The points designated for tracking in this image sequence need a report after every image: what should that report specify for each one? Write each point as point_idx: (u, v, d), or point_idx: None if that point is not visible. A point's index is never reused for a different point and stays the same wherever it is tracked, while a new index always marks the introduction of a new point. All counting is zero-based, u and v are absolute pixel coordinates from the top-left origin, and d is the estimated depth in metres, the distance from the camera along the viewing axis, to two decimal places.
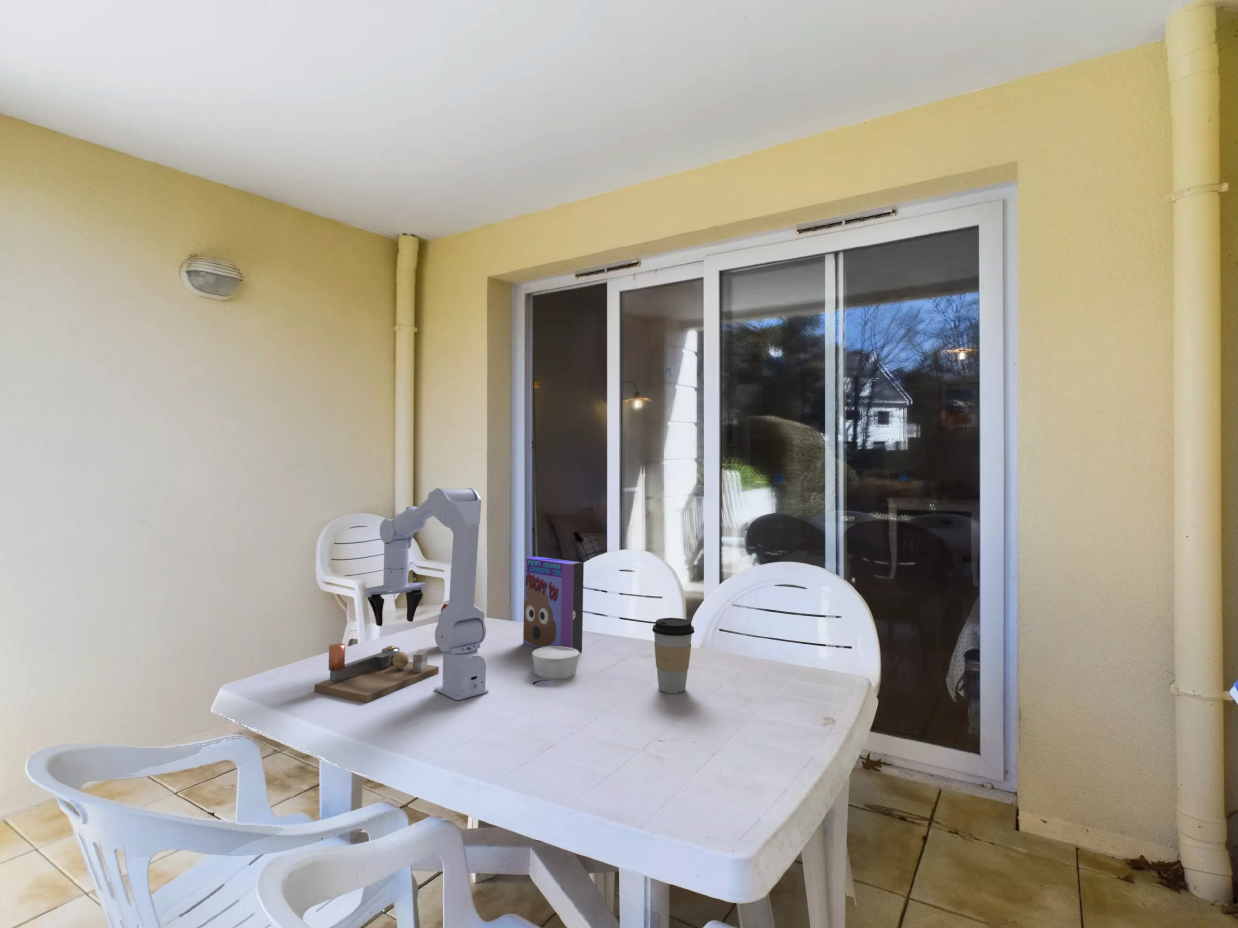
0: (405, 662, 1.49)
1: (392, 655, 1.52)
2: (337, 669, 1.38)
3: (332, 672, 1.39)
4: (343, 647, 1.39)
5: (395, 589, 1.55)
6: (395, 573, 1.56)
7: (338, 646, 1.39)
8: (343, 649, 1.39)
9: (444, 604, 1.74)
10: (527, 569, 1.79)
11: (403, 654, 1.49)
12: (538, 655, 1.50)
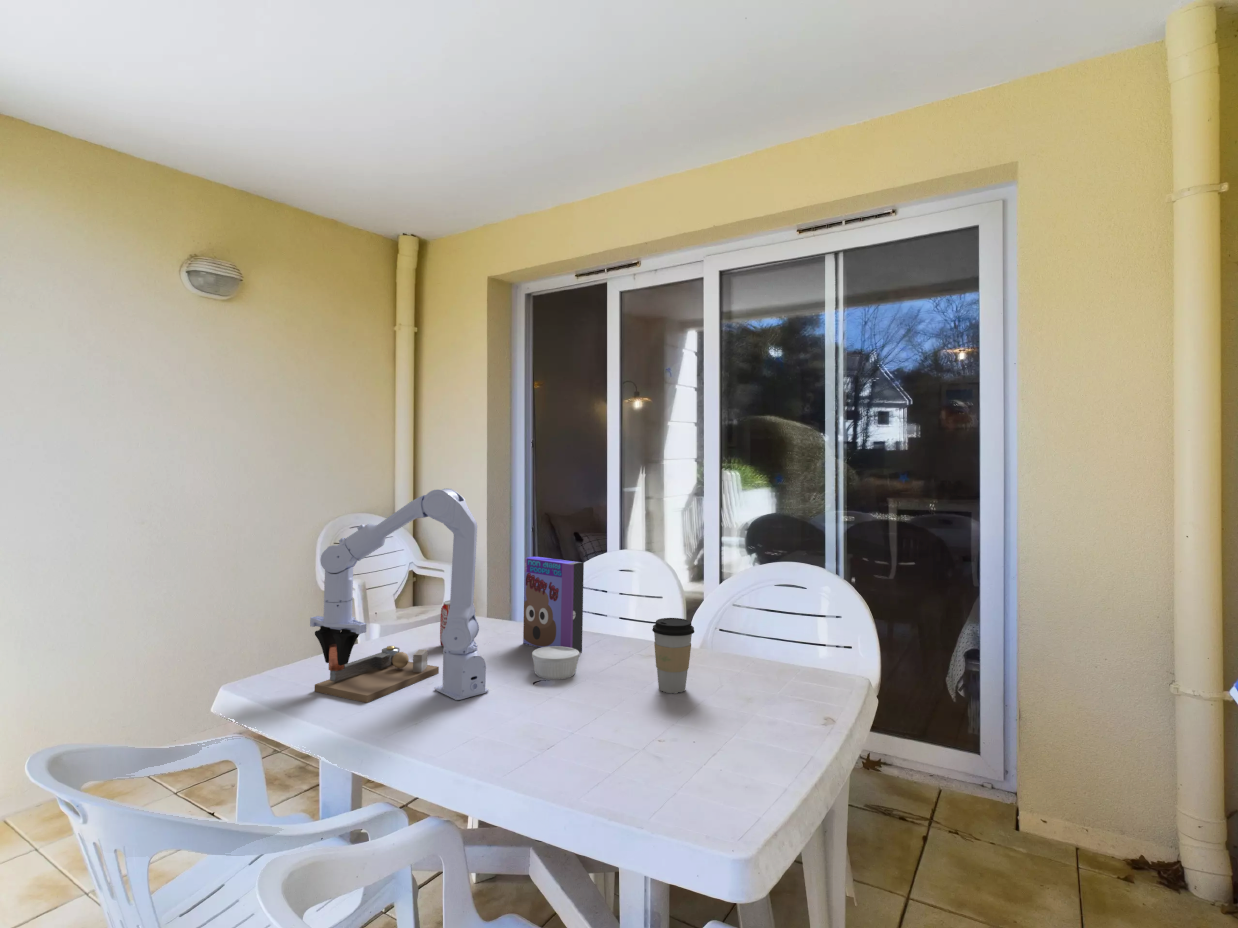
0: (405, 662, 1.49)
1: (392, 655, 1.52)
2: (337, 669, 1.38)
3: (332, 672, 1.39)
4: None
5: (323, 624, 1.37)
6: (324, 606, 1.38)
7: None
8: None
9: (444, 604, 1.74)
10: (527, 569, 1.79)
11: (403, 654, 1.49)
12: (538, 655, 1.50)
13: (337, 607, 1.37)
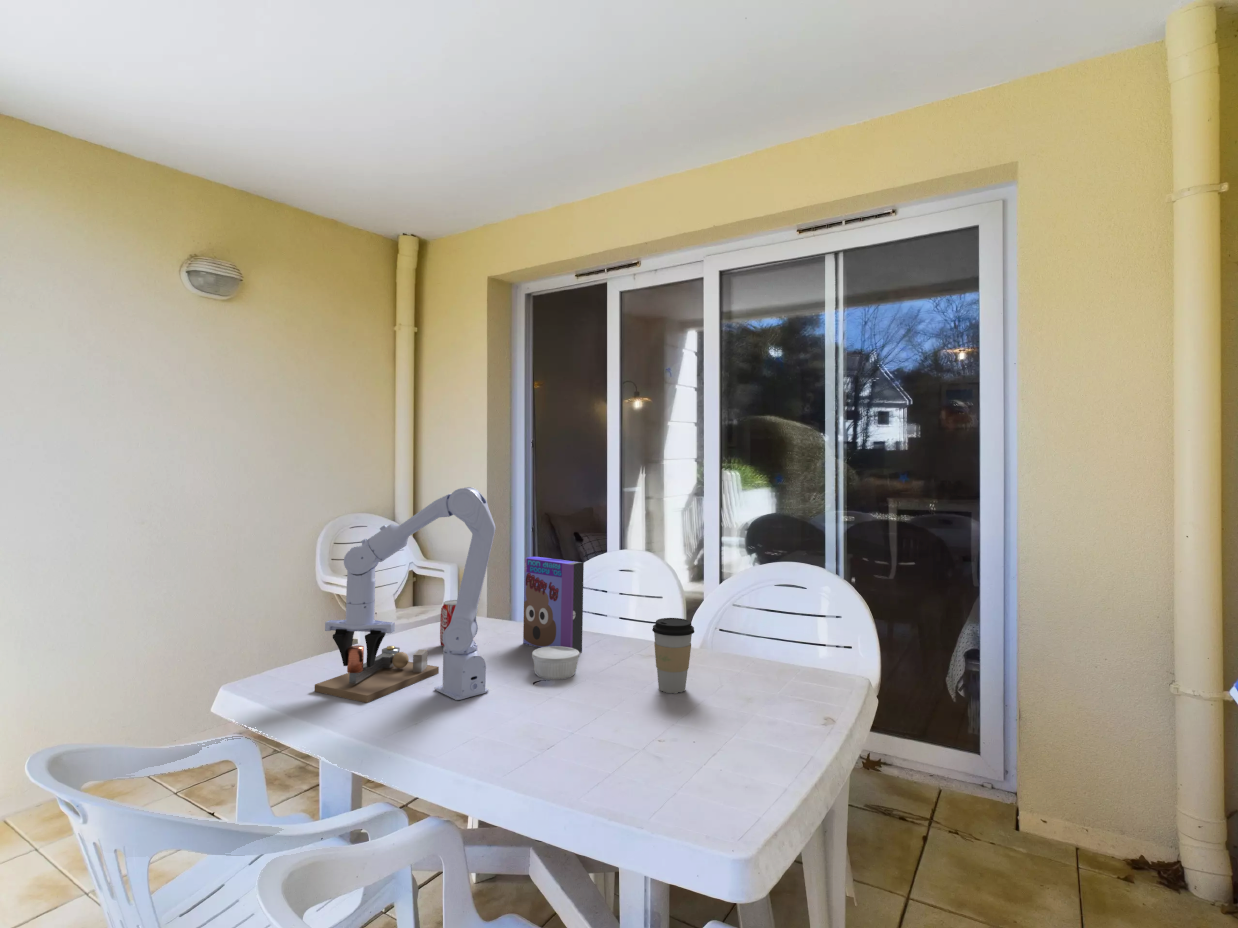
0: (405, 662, 1.49)
1: None
2: (358, 671, 1.37)
3: (352, 674, 1.37)
4: (363, 648, 1.38)
5: (348, 627, 1.36)
6: (349, 608, 1.36)
7: (358, 648, 1.38)
8: (363, 651, 1.38)
9: (444, 604, 1.74)
10: (527, 569, 1.79)
11: (403, 654, 1.49)
12: (538, 655, 1.50)
13: (365, 608, 1.36)
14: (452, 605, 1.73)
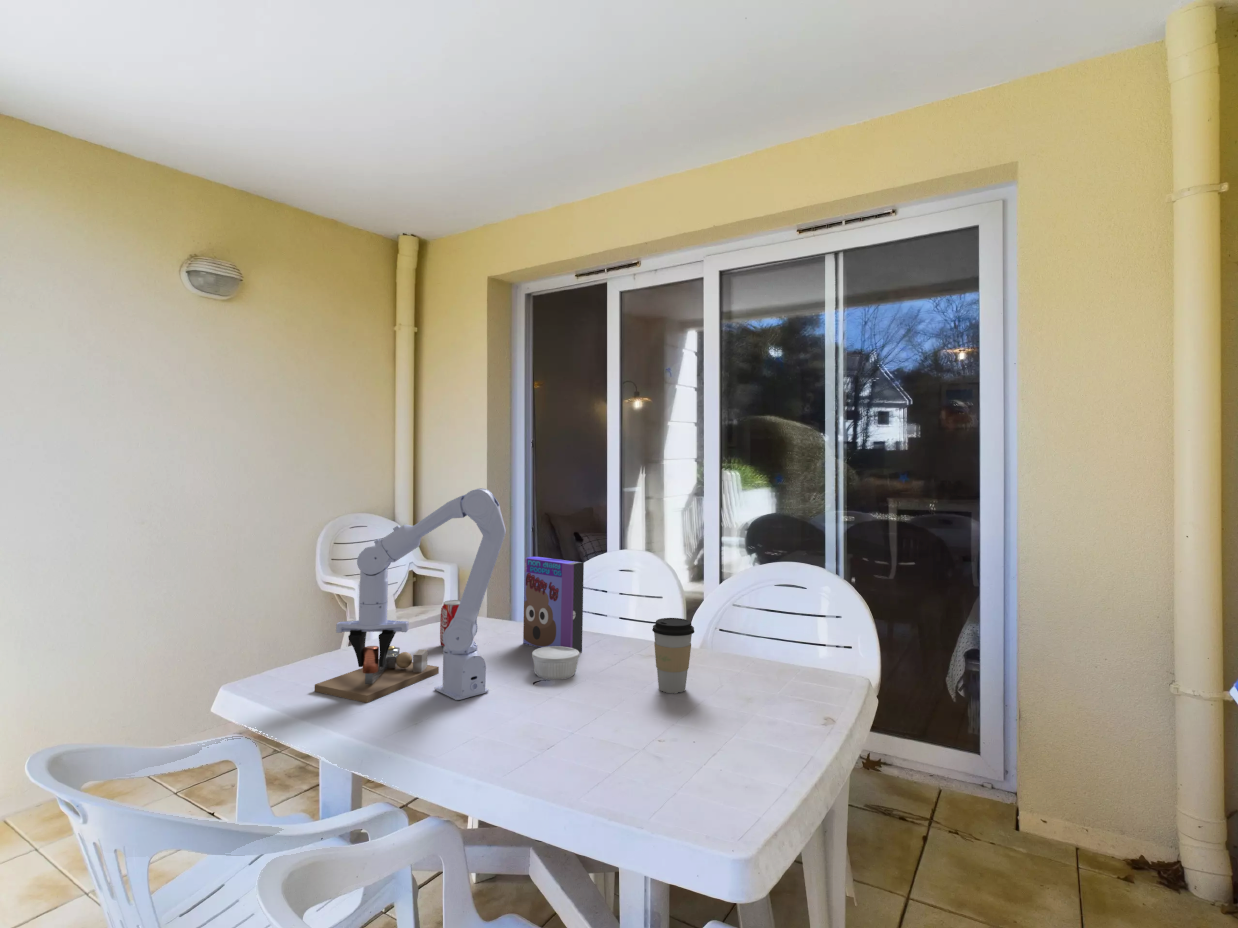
0: (409, 662, 1.49)
1: None
2: (375, 671, 1.37)
3: (368, 675, 1.37)
4: (378, 648, 1.39)
5: (363, 627, 1.35)
6: (364, 609, 1.36)
7: (374, 648, 1.38)
8: (378, 651, 1.38)
9: (444, 604, 1.74)
10: (527, 569, 1.79)
11: (407, 654, 1.49)
12: (538, 655, 1.50)
13: (380, 608, 1.36)
14: (452, 605, 1.73)
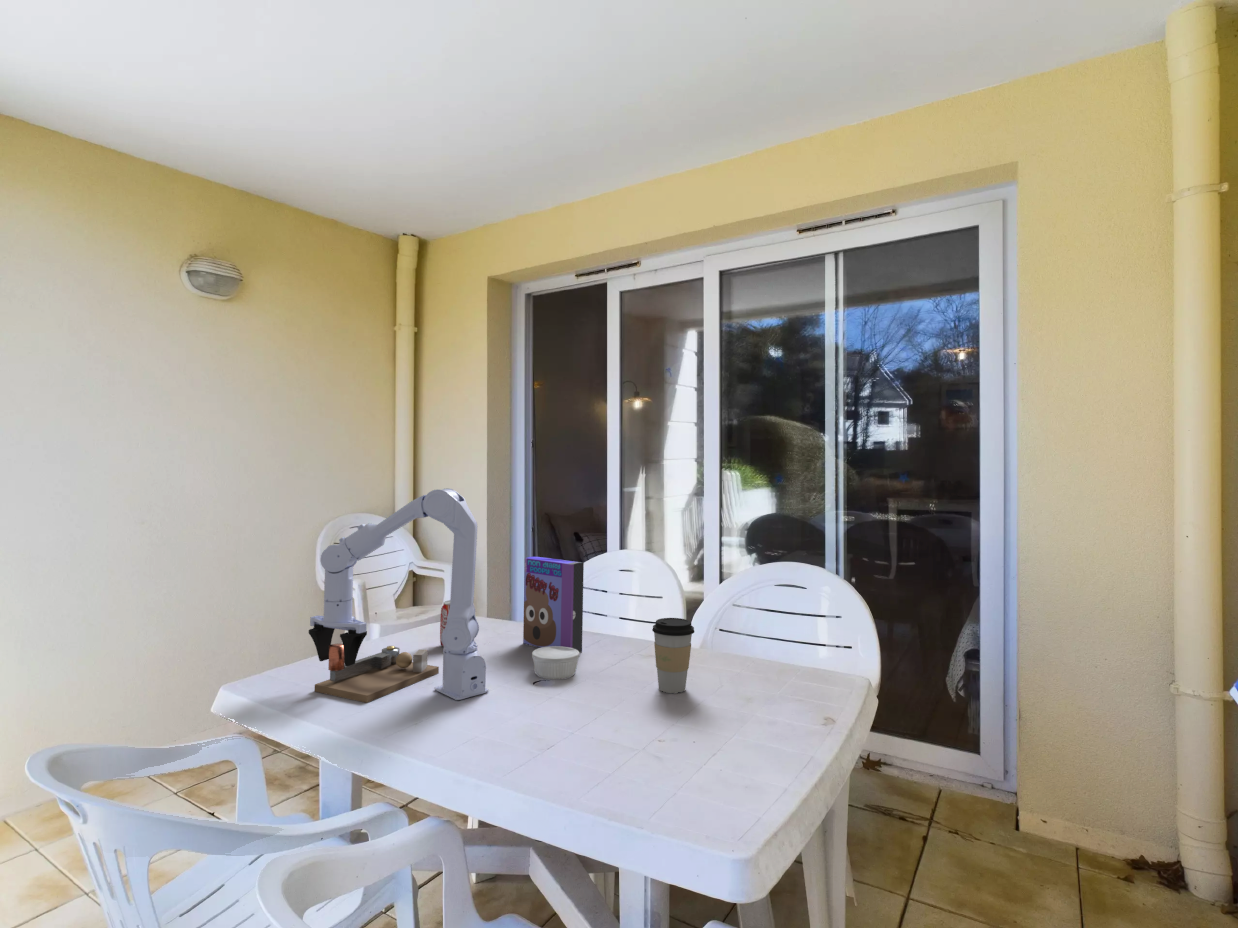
0: (409, 662, 1.49)
1: (392, 655, 1.52)
2: (337, 669, 1.38)
3: (332, 672, 1.39)
4: None
5: (323, 623, 1.37)
6: (324, 605, 1.38)
7: (338, 646, 1.39)
8: (343, 649, 1.39)
9: (444, 604, 1.74)
10: (527, 569, 1.79)
11: (407, 654, 1.49)
12: (538, 655, 1.50)
13: (337, 606, 1.37)
14: None
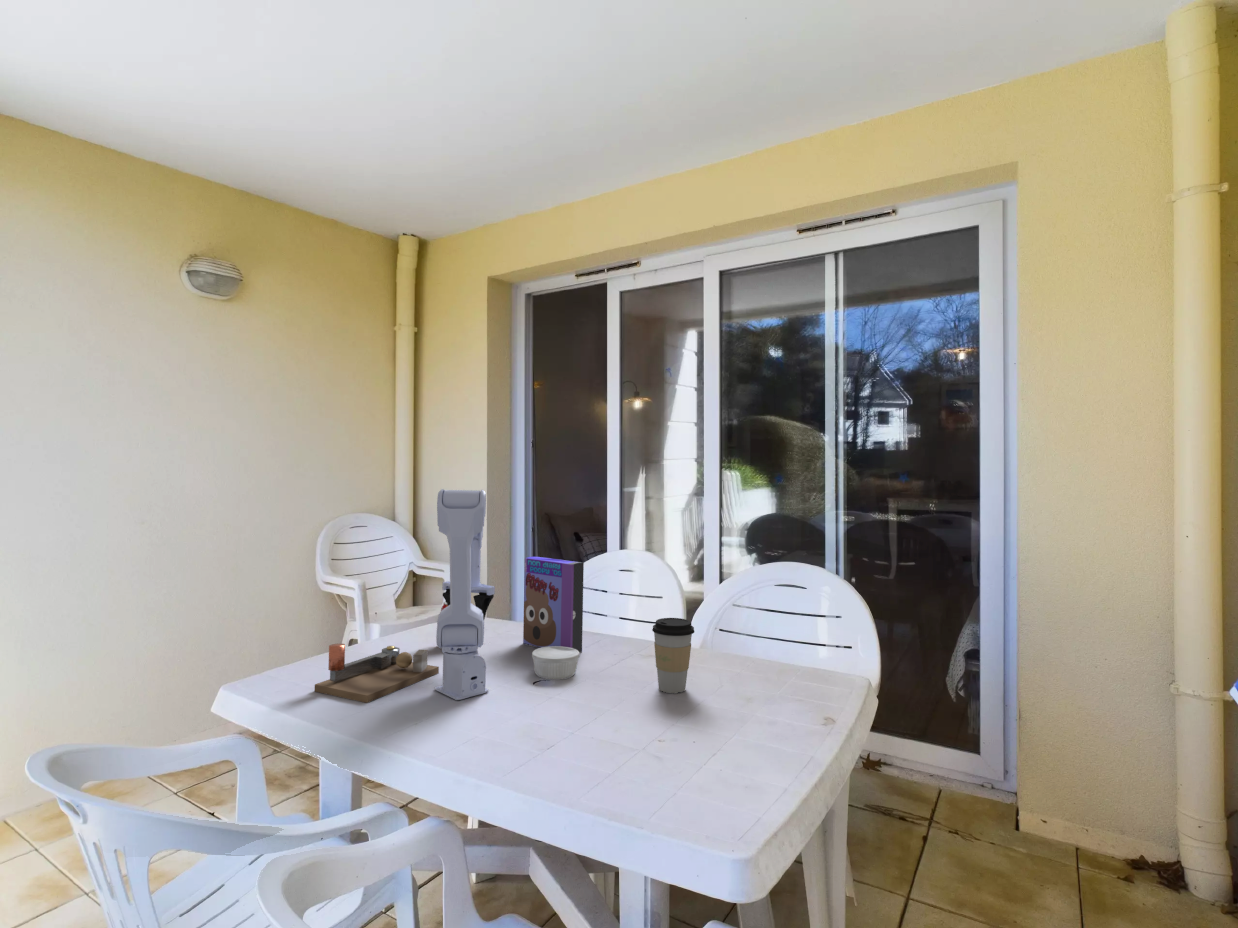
0: (409, 662, 1.49)
1: (392, 655, 1.52)
2: (337, 669, 1.38)
3: (332, 672, 1.39)
4: (343, 647, 1.39)
5: None
6: None
7: (338, 646, 1.39)
8: (343, 649, 1.39)
9: (444, 604, 1.74)
10: (527, 569, 1.79)
11: (407, 654, 1.49)
12: (538, 655, 1.50)
13: (470, 572, 1.58)
14: None
